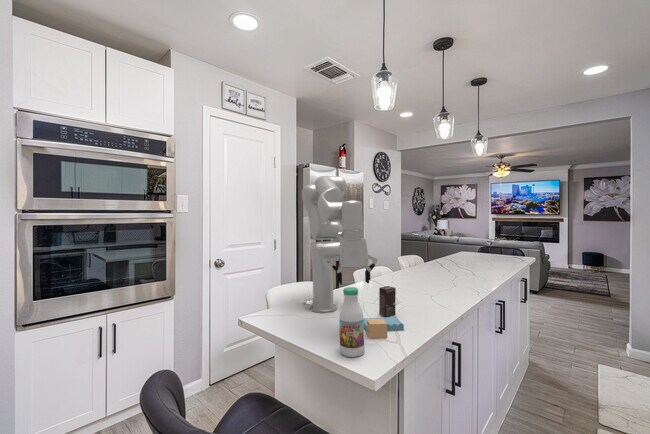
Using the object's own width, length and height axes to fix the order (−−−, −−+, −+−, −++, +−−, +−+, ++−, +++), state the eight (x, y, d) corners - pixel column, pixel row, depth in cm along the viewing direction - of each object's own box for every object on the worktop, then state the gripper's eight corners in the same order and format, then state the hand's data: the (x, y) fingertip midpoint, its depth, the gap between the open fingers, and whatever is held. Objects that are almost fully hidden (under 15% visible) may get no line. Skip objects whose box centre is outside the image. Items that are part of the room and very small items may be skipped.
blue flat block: (366, 332, 108) (366, 325, 108) (361, 323, 117) (361, 317, 117) (403, 330, 109) (403, 324, 109) (396, 321, 118) (396, 316, 118)
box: (386, 318, 123) (385, 289, 123) (379, 315, 126) (378, 287, 127) (396, 315, 126) (395, 287, 126) (389, 312, 130) (388, 285, 130)
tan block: (370, 338, 102) (370, 324, 102) (367, 333, 107) (366, 319, 107) (387, 337, 102) (386, 323, 102) (383, 332, 107) (383, 318, 107)
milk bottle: (338, 347, 95) (337, 286, 96) (361, 346, 96) (360, 285, 96) (341, 358, 88) (340, 291, 88) (366, 357, 88) (365, 290, 89)
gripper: (329, 236, 100) (330, 286, 100) (378, 234, 102) (380, 284, 101) (327, 235, 108) (328, 282, 107) (373, 234, 109) (375, 280, 109)
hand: (353, 283), depth 104 cm, fingers open, 9 cm apart
